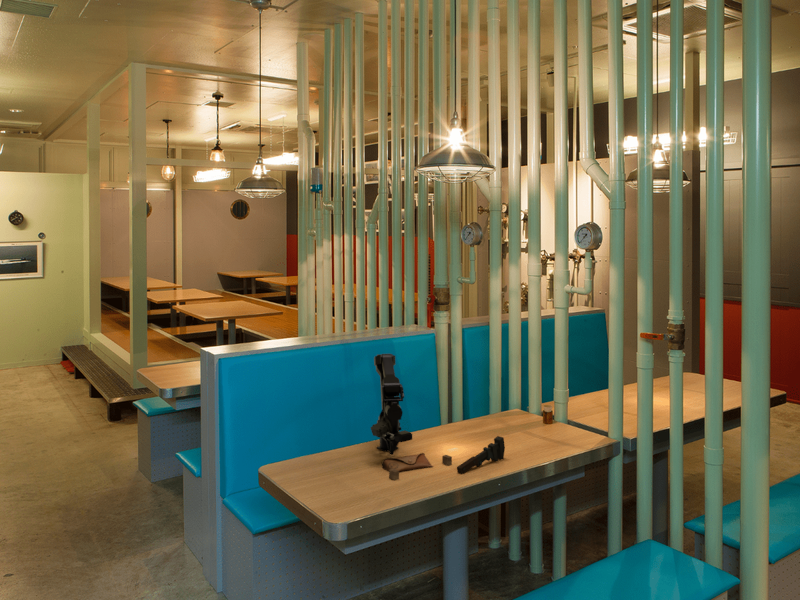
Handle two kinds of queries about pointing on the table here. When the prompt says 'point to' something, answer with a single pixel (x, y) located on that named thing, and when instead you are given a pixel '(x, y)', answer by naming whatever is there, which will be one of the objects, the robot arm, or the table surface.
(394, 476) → the block
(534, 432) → the table surface
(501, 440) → the adjustable wrench
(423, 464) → the sunglasses case
